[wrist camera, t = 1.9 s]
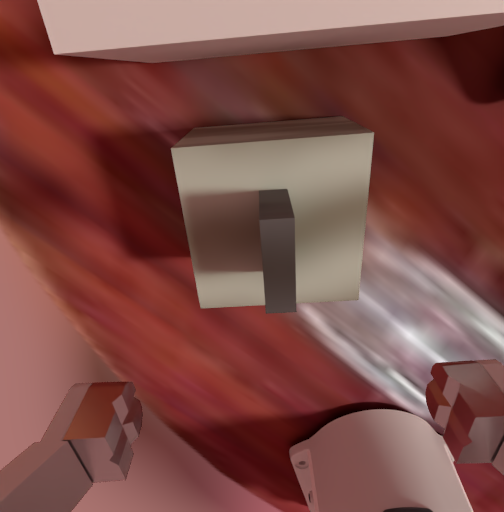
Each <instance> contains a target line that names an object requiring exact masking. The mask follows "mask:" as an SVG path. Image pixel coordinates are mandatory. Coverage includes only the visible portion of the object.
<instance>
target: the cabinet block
mask: <svg viewBox="0 0 504 512" xmlns="http://www.w3.org/2000/svg"><path fill="white" fill-rule="evenodd" d="M373 138H374V132H372V131H370V130H368V129H366V128H364V127H362V126H360V125H358V124H356V123H355V122H353V121H351V120H349V119H347V118H345V117H343V116H337V117H325V118H312V119H300V120H287V121H275V122H262V123H250V124H237V125H225V126H212V127H200V128H193V129H192V130H191V131H190V132H189V133H188V134H187V135H185V136H184V137H183V138H182V139H181V140H180V141H178V142H177V143H176V144H175V145H174V146H173V147H172V148H171V152H172V158H173V163H174V168H175V174H176V179H177V184H178V190H179V195H180V200H181V206H182V211H183V216H184V222H185V227H186V232H187V238H188V243H189V248H190V254H191V259H192V264H193V270H194V275H195V280H196V286H197V291H198V296H199V302H200V307H201V308H216V307H235V306H254V305H265V307H266V313H285V312H296V303H311V302H330V301H349V300H358V298H359V288H360V277H361V266H362V255H363V245H364V234H365V223H366V213H367V202H368V191H369V181H370V170H371V159H372V149H373Z"/></svg>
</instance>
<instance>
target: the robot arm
mask: <svg viewBox="0 0 504 512" xmlns="http://www.w3.org/2000/svg"><path fill="white" fill-rule="evenodd" d="M431 375H432V376H433V378H434V379H433V380H432V381H431V382H430V383H428V384H427V388H426V402H427V406H428V409H429V412H430V414H431V416H432V418H433V420H434V421H435V422H436V423H438V424H439V425H440V426H442V427H443V428H444V433H443V436H441V435H439V434H437V433H436V432H435V431H434V429H433V428H432V427H431V426H430V425H429V424H428V423H427V422H426V421H425V420H423V419H422V418H420V417H418V416H416V415H413V414H410V413H407V412H403V411H398V410H389V409H375V410H365V411H360V412H355V413H351V414H348V415H345V416H342V417H340V418H338V419H335V420H333V421H332V422H330V423H328V424H327V425H325V426H324V427H322V428H321V429H320V430H319V431H318V432H317V433H316V434H315V435H313V436H312V437H311V438H309V439H307V440H305V441H303V442H300V443H298V444H296V445H294V446H292V447H291V448H290V449H289V454H290V460H291V463H292V465H293V468H294V470H295V473H296V476H297V478H298V481H299V484H300V486H301V489H302V491H303V494H304V497H305V499H306V502H307V505H308V507H309V510H310V512H473V510H472V507H471V505H470V503H469V500H468V498H467V495H466V493H465V491H464V488H463V486H462V484H461V481H460V479H459V477H458V474H457V472H456V470H455V467H454V465H453V462H454V460H455V461H456V463H492V465H493V466H494V467H495V468H496V469H497V470H499V471H500V472H501V473H502V474H503V475H504V366H503V365H502V364H501V363H500V362H499V361H497V360H495V359H494V360H477V361H458V362H444V363H436V364H434V365H433V366H432V370H431ZM135 391H136V389H135V387H134V385H133V382H101V383H78V384H74V385H73V386H72V387H71V388H70V389H69V391H68V393H67V395H66V396H65V398H64V400H63V402H62V403H61V405H60V407H59V409H58V411H57V412H56V414H55V416H54V418H53V420H52V421H51V423H50V425H49V427H48V429H47V430H46V432H45V434H44V436H43V438H42V440H41V441H40V442H36V443H33V444H32V445H31V446H30V447H28V448H27V449H26V450H25V451H23V452H22V453H21V454H20V455H19V456H17V457H16V458H15V459H14V460H13V461H11V462H10V463H9V464H8V465H7V466H5V467H4V468H3V469H2V470H1V471H0V512H71V511H72V510H73V509H74V507H75V506H76V505H77V504H78V502H79V501H80V500H81V499H82V498H83V496H84V495H85V494H86V493H87V491H88V490H89V489H90V488H91V487H92V485H93V484H92V483H95V482H107V481H120V480H126V477H127V474H128V471H129V467H130V464H131V460H132V457H133V451H132V448H131V444H132V443H133V442H134V441H135V440H136V439H137V438H138V437H139V434H140V430H141V426H142V416H143V413H142V406H141V403H140V401H139V400H138V399H137V398H135V397H134V393H135Z"/></svg>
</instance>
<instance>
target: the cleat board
mask: <svg viewBox="0 0 504 512" xmlns="http://www.w3.org/2000/svg"><path fill="white" fill-rule="evenodd" d="M37 1H38V4H39V7H40V11H41V14H42V17H43V20H44V23H45V27H46V30H47V33H48V36H49V40H50V43H51V46H52V49H53V53H54V54H56V55H67V56H78V57H90V58H101V59H112V60H124V61H135V62H146V63H158V62H169V61H180V60H191V59H202V58H213V57H224V56H235V55H246V54H257V53H268V52H279V51H291V50H302V49H313V48H324V47H335V46H346V45H357V44H368V43H379V42H390V41H401V40H412V39H423V38H434V37H445V36H451V35H457V34H462V33H467V32H472V31H478V30H483V29H488V28H493V27H499V26H504V0H37Z"/></svg>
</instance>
